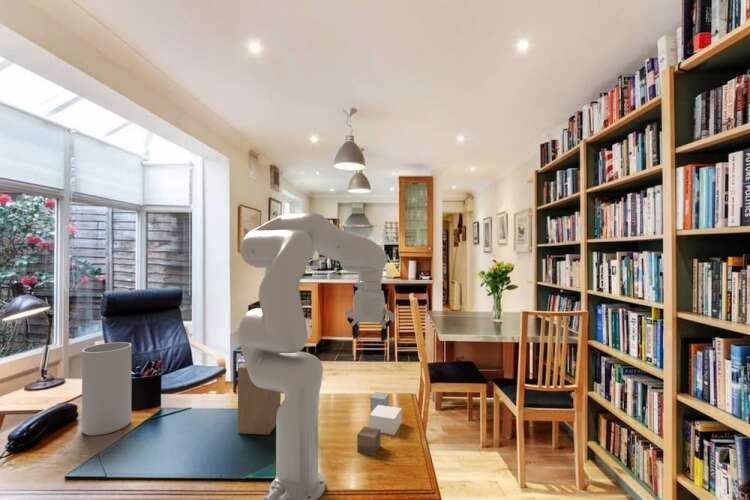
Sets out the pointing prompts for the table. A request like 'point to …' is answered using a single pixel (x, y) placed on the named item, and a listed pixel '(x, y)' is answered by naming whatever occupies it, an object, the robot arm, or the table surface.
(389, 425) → the off-white block
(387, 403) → the slate-grey cube
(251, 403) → the wooden block
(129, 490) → the table surface
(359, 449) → the walnut cube
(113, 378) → the cylinder vase
